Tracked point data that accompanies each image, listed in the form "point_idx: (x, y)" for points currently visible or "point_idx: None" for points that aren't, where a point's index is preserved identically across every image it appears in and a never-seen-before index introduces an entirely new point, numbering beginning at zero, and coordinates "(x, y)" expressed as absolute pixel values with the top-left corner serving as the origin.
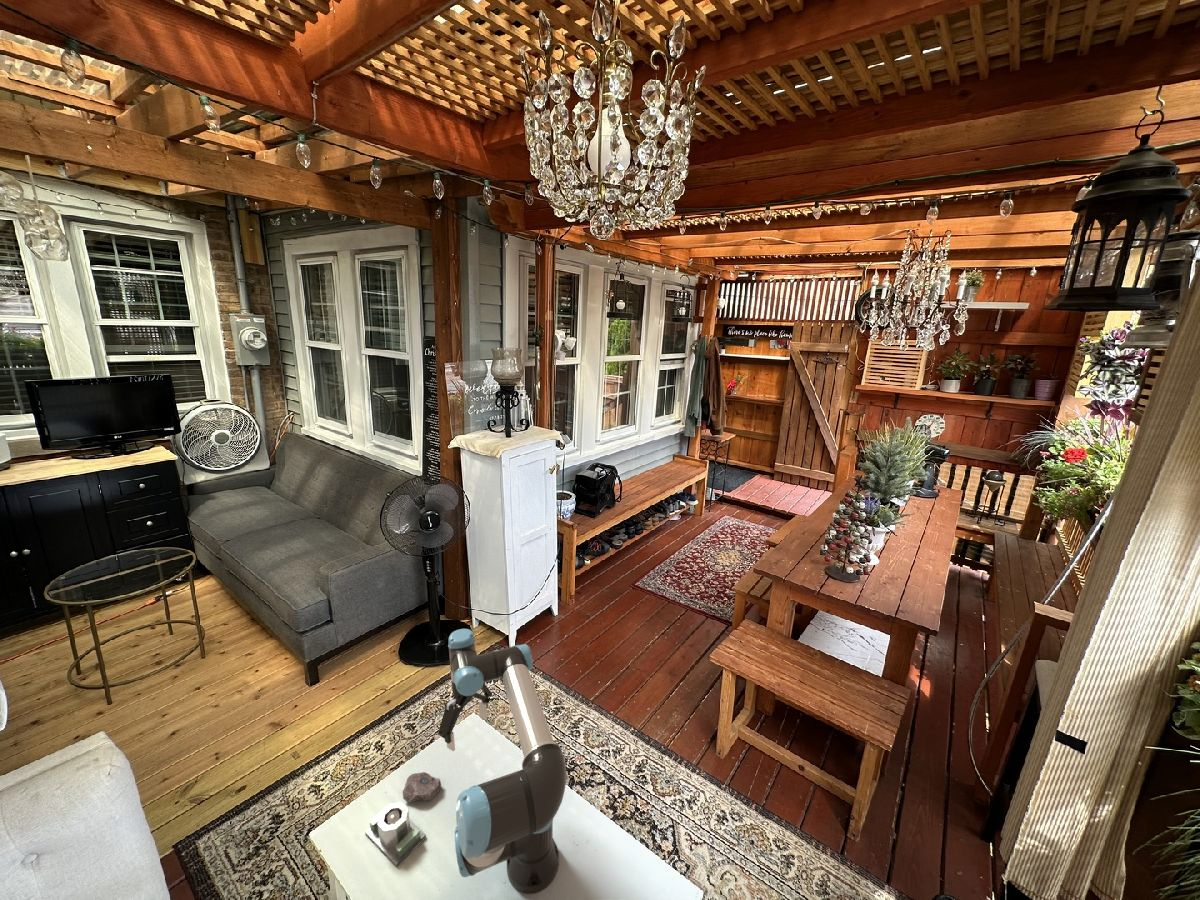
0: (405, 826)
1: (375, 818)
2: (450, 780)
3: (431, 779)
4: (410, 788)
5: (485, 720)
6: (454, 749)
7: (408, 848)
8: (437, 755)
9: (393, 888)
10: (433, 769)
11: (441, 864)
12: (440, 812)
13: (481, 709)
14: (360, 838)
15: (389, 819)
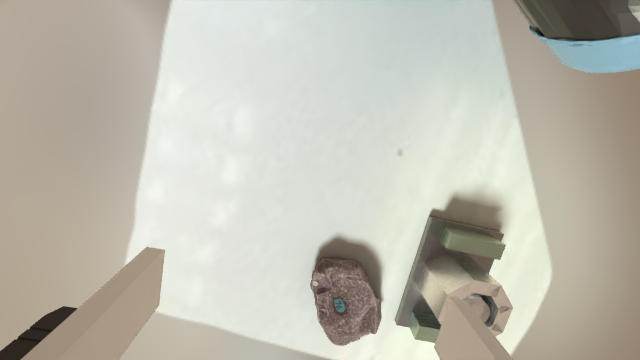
0: (466, 269)
1: None
2: (292, 250)
3: (327, 292)
4: (362, 321)
5: (163, 251)
6: (456, 302)
7: (474, 232)
8: (249, 320)
9: (535, 209)
10: (285, 305)
11: (470, 144)
12: (370, 221)
13: (110, 346)
14: None
15: (485, 315)
